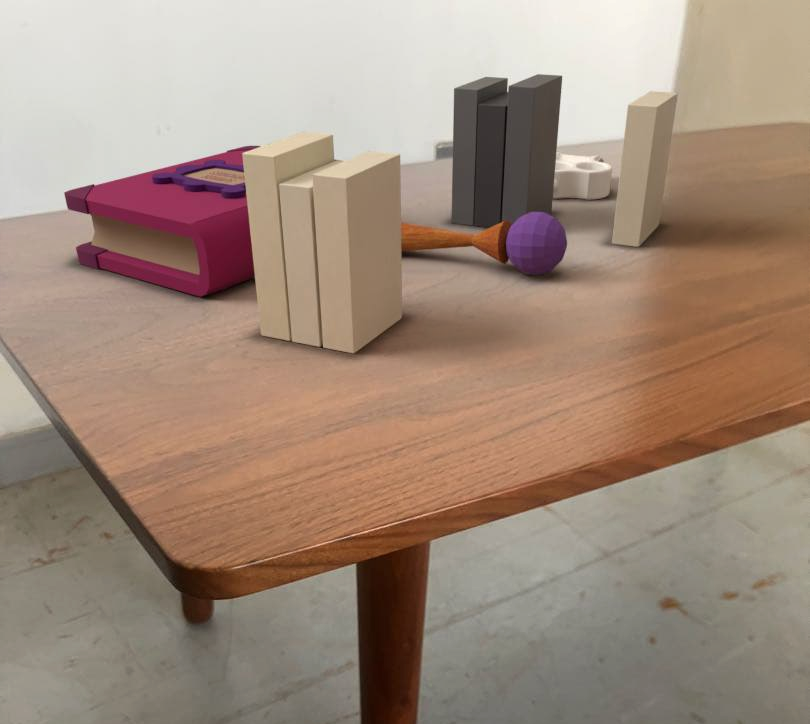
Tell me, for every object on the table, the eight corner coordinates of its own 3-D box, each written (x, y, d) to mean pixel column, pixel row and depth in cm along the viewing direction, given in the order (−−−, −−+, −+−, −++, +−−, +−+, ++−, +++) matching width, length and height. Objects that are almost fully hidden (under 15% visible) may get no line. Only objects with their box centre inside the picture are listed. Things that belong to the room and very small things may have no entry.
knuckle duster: (625, 180, 124) (596, 207, 113) (499, 168, 130) (461, 192, 119) (628, 153, 122) (599, 178, 111) (500, 143, 128) (461, 165, 117)
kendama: (398, 205, 100) (576, 211, 91) (398, 262, 102) (572, 273, 94) (372, 208, 95) (557, 214, 86) (372, 267, 97) (553, 279, 89)
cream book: (658, 225, 106) (678, 92, 98) (638, 247, 100) (657, 106, 92) (633, 222, 107) (650, 91, 99) (611, 243, 101) (627, 104, 93)
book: (389, 231, 105) (388, 161, 101) (211, 301, 87) (200, 220, 83) (256, 203, 116) (250, 139, 111) (72, 261, 97) (56, 187, 93)
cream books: (402, 317, 83) (400, 140, 75) (353, 353, 76) (345, 164, 68) (314, 302, 87) (302, 131, 78) (260, 335, 80) (241, 152, 71)
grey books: (551, 212, 111) (562, 75, 103) (525, 232, 105) (535, 87, 96) (480, 204, 115) (485, 70, 106) (451, 222, 108) (453, 82, 99)
